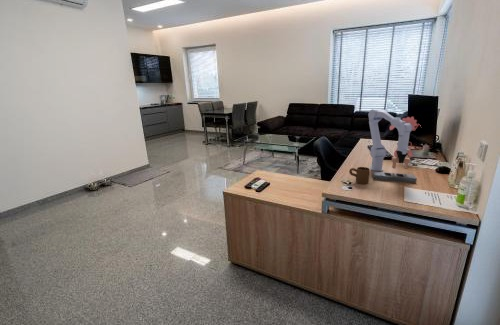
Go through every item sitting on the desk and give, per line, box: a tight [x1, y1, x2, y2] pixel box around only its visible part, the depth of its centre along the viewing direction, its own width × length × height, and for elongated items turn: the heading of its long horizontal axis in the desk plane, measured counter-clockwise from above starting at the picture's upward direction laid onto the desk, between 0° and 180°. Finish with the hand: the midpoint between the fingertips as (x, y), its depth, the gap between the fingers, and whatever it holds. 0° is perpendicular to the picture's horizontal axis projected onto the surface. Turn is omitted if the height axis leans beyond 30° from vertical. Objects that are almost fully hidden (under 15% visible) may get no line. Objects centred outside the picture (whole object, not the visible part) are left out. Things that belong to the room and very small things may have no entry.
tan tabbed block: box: [391, 156, 411, 170], centre depth 166 cm, size 3×10×7 cm, turn 71°
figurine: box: [389, 116, 421, 157], centre depth 209 cm, size 15×26×35 cm, turn 69°
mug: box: [348, 166, 371, 185], centre depth 161 cm, size 12×8×9 cm, turn 70°
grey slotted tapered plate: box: [372, 171, 418, 184], centre depth 165 cm, size 8×24×3 cm, turn 70°
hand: (400, 162), depth 166 cm, fingers closed on tan tabbed block, 3 cm apart
